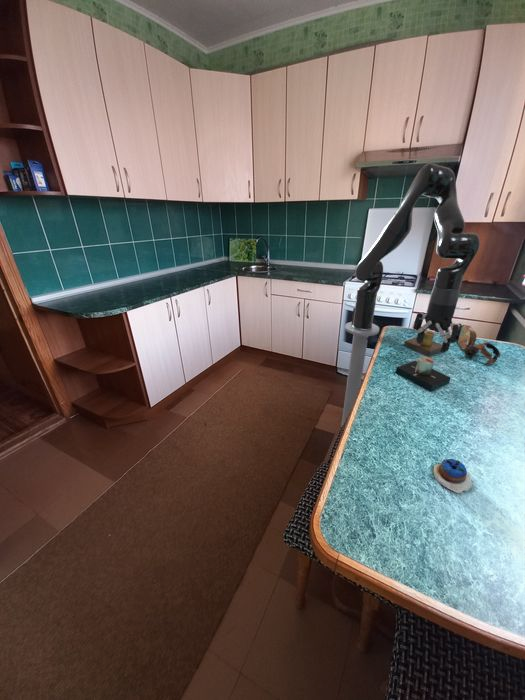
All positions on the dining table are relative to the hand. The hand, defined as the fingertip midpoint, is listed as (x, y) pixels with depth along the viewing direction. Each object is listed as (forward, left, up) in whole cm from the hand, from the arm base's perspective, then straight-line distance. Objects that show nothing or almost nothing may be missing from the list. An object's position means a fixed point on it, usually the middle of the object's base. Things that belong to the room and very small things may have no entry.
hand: (431, 347), depth 98 cm
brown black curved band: (+2, +31, -13) cm, 33 cm away
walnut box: (-15, +22, -12) cm, 29 cm away
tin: (-8, +39, -13) cm, 41 cm away
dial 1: (-15, +22, -10) cm, 28 cm away
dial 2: (0, 0, -10) cm, 10 cm away
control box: (0, 0, -12) cm, 12 cm away
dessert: (+31, -32, -13) cm, 46 cm away
